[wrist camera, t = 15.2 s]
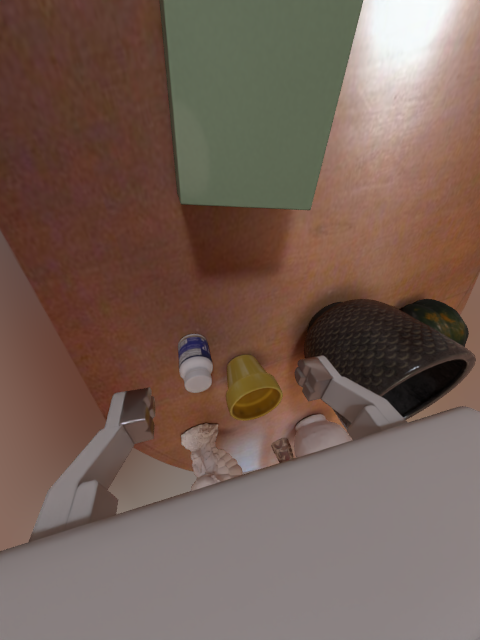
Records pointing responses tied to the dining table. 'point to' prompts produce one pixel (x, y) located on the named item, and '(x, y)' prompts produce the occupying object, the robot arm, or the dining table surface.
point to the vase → (317, 435)
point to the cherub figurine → (208, 456)
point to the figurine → (282, 450)
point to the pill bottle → (195, 363)
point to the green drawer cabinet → (254, 96)
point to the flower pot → (250, 389)
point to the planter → (388, 353)
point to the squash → (439, 318)
